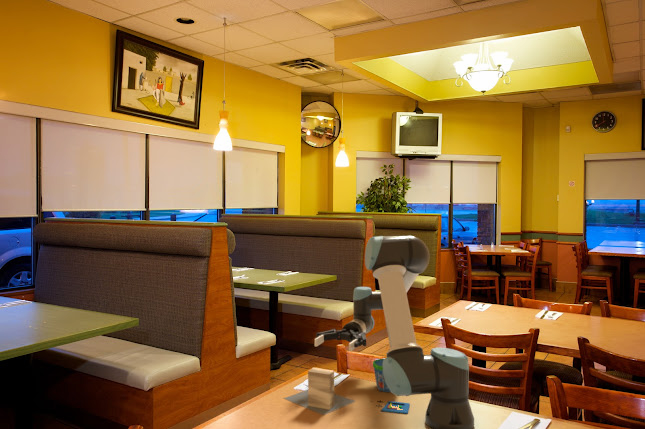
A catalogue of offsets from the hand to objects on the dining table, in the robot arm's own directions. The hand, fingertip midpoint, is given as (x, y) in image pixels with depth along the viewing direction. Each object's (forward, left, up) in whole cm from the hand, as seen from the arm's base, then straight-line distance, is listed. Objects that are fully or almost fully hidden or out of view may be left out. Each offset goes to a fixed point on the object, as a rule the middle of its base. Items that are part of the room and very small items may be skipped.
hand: (332, 345), depth 182 cm
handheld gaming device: (-19, -7, -20) cm, 28 cm away
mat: (+1, +6, -19) cm, 20 cm away
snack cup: (-9, -20, -19) cm, 29 cm away
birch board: (-3, +9, -18) cm, 21 cm away
